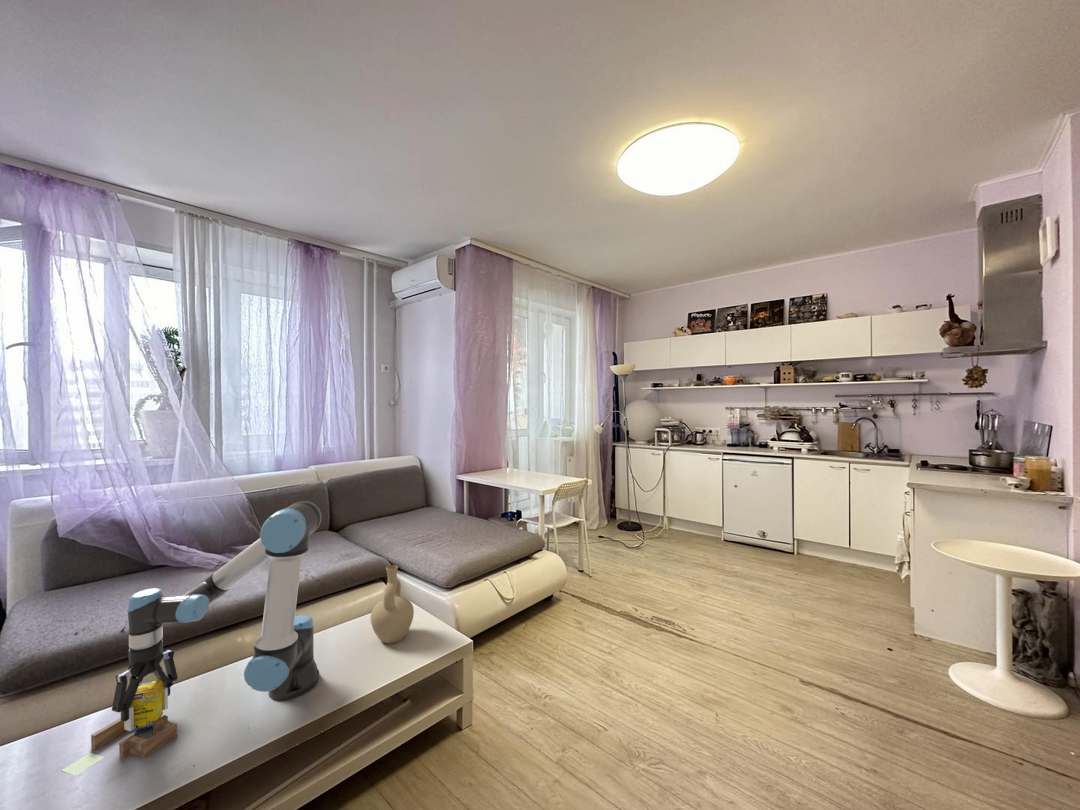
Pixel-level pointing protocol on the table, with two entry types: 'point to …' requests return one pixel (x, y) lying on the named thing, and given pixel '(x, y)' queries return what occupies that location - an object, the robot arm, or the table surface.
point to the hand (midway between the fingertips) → (146, 718)
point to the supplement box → (147, 704)
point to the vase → (392, 611)
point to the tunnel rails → (134, 744)
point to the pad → (82, 764)
